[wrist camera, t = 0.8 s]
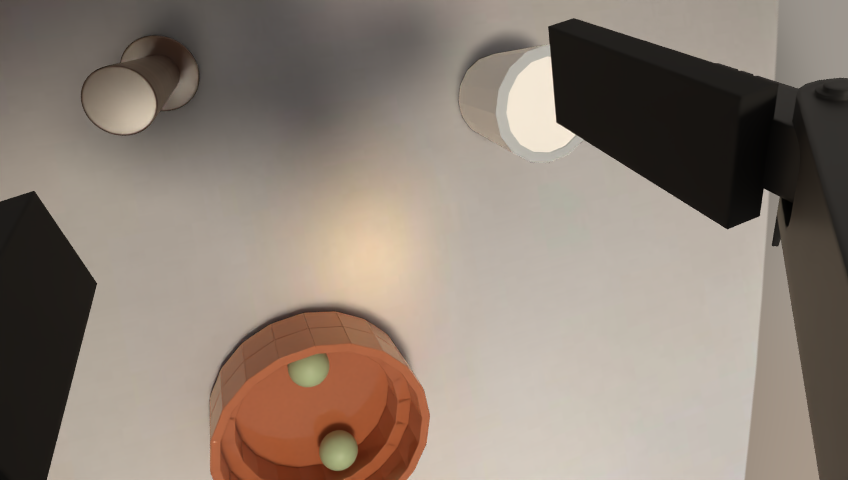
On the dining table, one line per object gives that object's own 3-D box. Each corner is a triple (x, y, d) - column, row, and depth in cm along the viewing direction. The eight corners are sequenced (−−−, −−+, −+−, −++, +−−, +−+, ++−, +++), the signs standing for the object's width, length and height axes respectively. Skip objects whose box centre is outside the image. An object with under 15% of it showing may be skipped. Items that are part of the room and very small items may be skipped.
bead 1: (293, 334, 40) (299, 353, 37) (331, 342, 41) (339, 362, 39) (279, 369, 40) (284, 391, 38) (316, 377, 41) (324, 398, 39)
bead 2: (324, 419, 43) (331, 443, 40) (358, 425, 44) (367, 448, 41) (310, 451, 43) (317, 476, 41) (344, 456, 44) (353, 481, 42)
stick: (134, 22, 32) (62, 1, 16) (208, 54, 33) (212, 64, 17) (112, 92, 32) (21, 140, 16) (186, 119, 34) (169, 187, 18)
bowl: (250, 285, 38) (257, 320, 33) (432, 333, 44) (461, 369, 39) (181, 466, 41) (178, 524, 36) (363, 488, 47) (382, 540, 42)
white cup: (499, 164, 42) (550, 185, 36) (430, 106, 39) (473, 118, 33) (556, 87, 42) (618, 94, 35) (491, 22, 38) (547, 17, 32)
